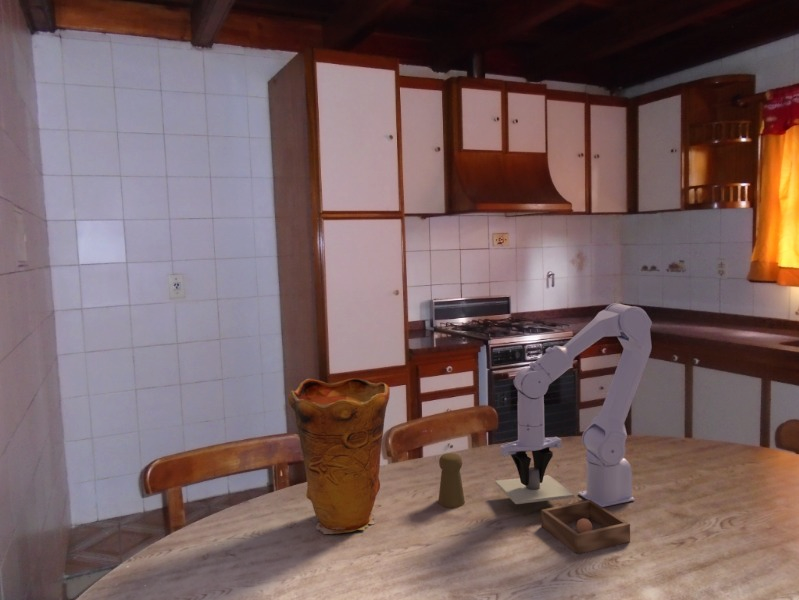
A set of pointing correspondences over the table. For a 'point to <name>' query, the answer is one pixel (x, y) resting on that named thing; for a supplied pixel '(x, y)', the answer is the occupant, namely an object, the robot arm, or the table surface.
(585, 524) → the terracotta ball
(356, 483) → the vase
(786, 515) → the table surface
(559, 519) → the walnut crate
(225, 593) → the table surface
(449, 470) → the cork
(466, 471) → the table surface
